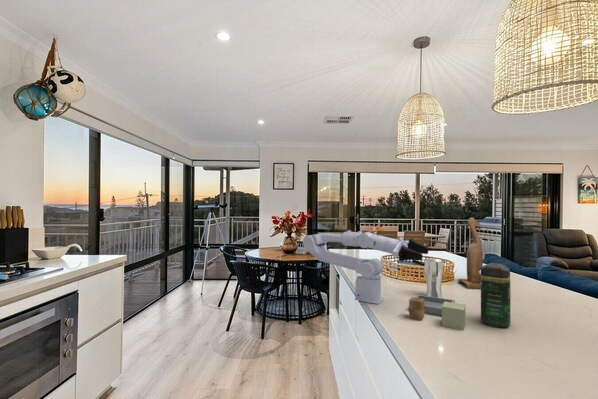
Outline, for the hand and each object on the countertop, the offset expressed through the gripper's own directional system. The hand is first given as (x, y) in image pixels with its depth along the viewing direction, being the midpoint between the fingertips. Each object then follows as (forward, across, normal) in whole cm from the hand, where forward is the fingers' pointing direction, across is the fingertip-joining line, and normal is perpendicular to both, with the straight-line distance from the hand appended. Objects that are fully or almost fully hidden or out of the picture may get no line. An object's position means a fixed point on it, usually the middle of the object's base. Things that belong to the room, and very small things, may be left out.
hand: (425, 254), depth 107 cm
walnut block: (+2, -12, +18) cm, 22 cm away
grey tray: (+5, 0, +20) cm, 20 cm away
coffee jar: (+24, -1, +17) cm, 29 cm away
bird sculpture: (+12, +44, +26) cm, 53 cm away
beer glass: (+2, +16, +23) cm, 28 cm away
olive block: (+13, -11, +17) cm, 24 cm away
